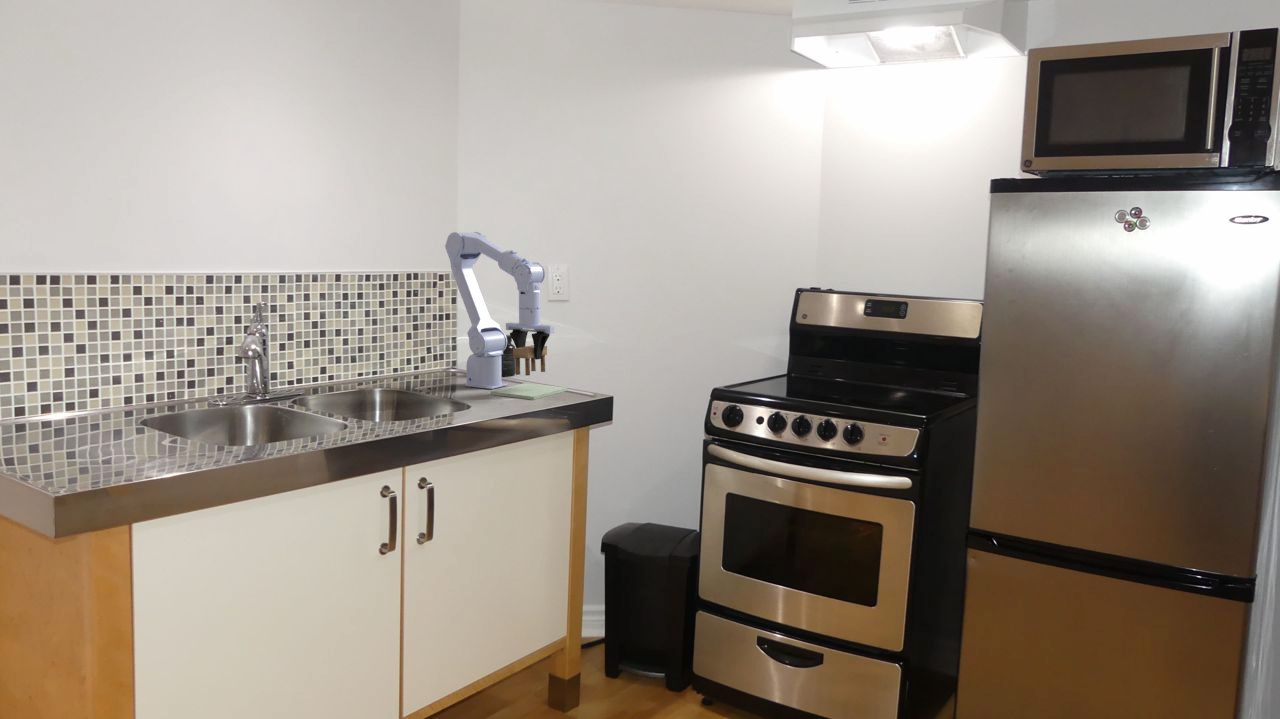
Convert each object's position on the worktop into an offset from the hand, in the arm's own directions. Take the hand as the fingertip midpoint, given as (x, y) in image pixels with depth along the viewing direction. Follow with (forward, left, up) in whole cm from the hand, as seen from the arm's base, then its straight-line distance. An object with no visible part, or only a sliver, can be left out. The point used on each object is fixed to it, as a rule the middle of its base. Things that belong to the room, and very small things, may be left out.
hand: (529, 358), depth 262 cm
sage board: (-1, +1, -10) cm, 10 cm away
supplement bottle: (-24, +20, -10) cm, 32 cm away
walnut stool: (0, 0, -4) cm, 4 cm away
